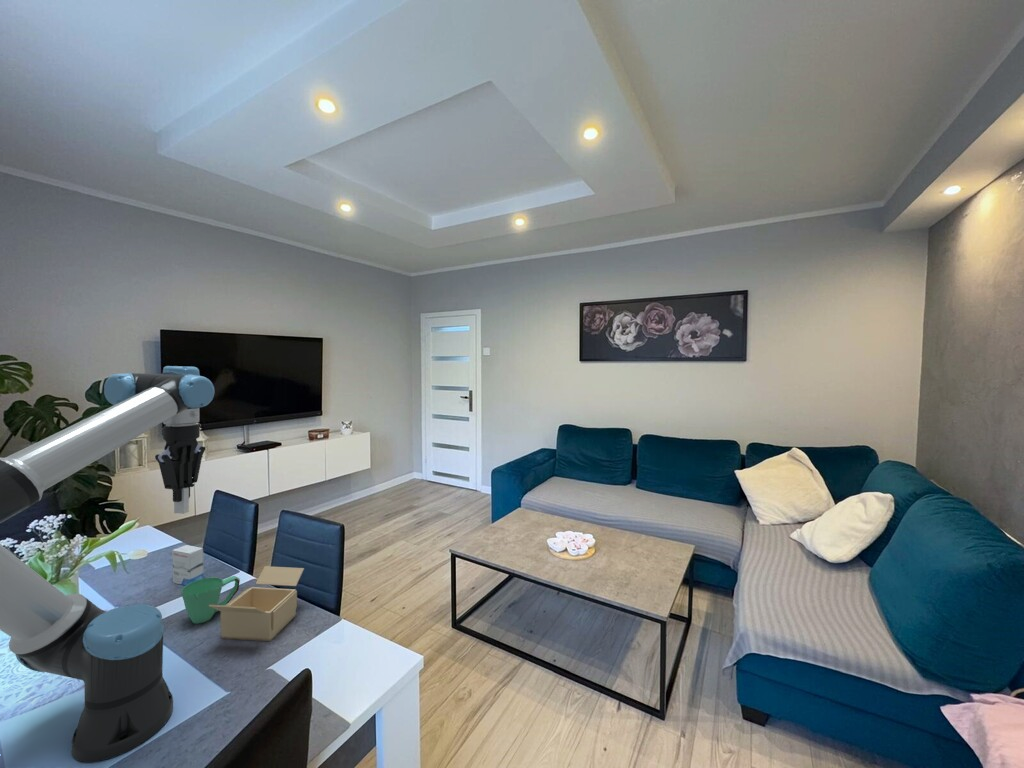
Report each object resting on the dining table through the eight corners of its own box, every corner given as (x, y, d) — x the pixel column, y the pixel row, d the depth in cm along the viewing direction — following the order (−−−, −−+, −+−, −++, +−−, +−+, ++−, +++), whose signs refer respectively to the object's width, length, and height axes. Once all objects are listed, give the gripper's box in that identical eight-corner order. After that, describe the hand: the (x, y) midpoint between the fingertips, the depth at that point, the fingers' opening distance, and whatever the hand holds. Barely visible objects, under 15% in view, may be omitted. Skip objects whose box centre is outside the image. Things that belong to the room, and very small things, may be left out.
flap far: (295, 585, 123) (303, 568, 127) (255, 583, 124) (265, 566, 128) (296, 586, 123) (304, 568, 128) (256, 584, 124) (265, 566, 128)
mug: (188, 633, 113) (188, 598, 113) (176, 620, 119) (176, 587, 118) (246, 608, 125) (246, 577, 125) (232, 598, 131) (232, 568, 130)
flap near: (221, 609, 110) (209, 604, 106) (266, 612, 110) (255, 607, 105) (220, 611, 110) (208, 606, 106) (265, 613, 109) (255, 608, 105)
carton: (272, 641, 110) (272, 613, 110) (218, 638, 111) (218, 609, 111) (297, 615, 122) (298, 589, 122) (249, 612, 123) (249, 586, 123)
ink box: (204, 580, 141) (204, 547, 141) (189, 587, 136) (189, 553, 136) (186, 576, 144) (187, 543, 143) (171, 583, 139) (171, 549, 139)
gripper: (173, 428, 99) (172, 522, 100) (214, 421, 112) (214, 505, 113) (144, 427, 100) (144, 520, 100) (189, 421, 113) (189, 503, 113)
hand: (181, 512), depth 107 cm, fingers closed
